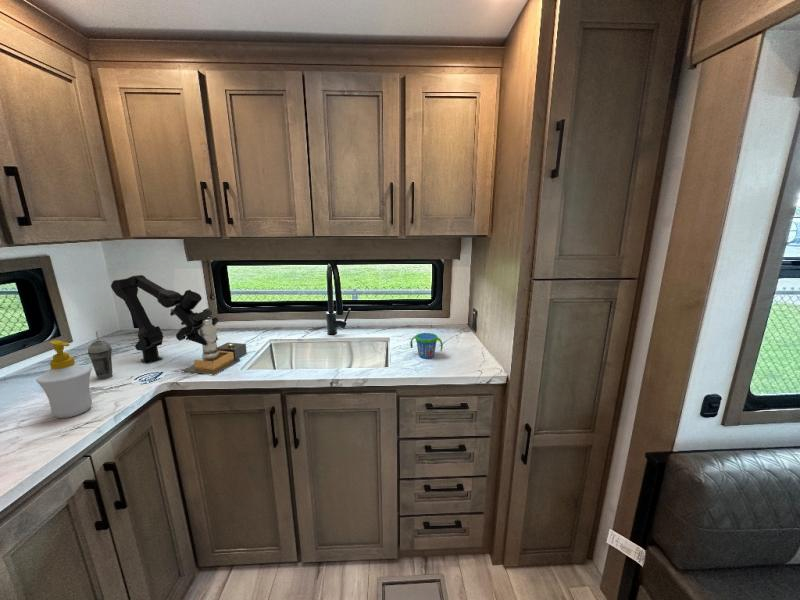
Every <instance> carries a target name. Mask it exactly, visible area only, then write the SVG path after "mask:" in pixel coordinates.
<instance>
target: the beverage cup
mask: <svg viewBox="0 0 800 600" xmlns="http://www.w3.org/2000/svg"><path fill="white" fill-rule="evenodd" d="M95 335H96V341H94V342H92V343H91V344H90V345H89V346H88V347H87V348H88V349H87V354H88V356H89V358H90V360H91V363H92V366H93V370H94V372H95V375H96V377H97V379H98V380H99V381H100V380H101V381H102V380H104V381H105V380H107V379H110V378H112V377H113V363H112V352H113V351H112V349H113V348H112V347H111V344H110V343H109V342H107V341H105V340H100V337H99V332H98V330H95Z"/></svg>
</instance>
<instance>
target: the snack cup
mask: <svg viewBox="0 0 800 600" xmlns="http://www.w3.org/2000/svg"><path fill="white" fill-rule="evenodd" d="M414 339H415V343H416V347H417V354H418V357H420V358H421V359H432V358H433V357H434V356H435V351H436V345H437V341H438V342H439V343H440V352H442V351H443V347H444V346H443V345H444V344H443V341H442V339H441V338H440V337H438V335H437V334H435V333H431V332H421V333H418V334H416V335H414V336H413V337H411V340H410V342H409V343H410V345H409V346H410V348H411V349H412V348H414V345H413V340H414Z"/></svg>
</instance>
